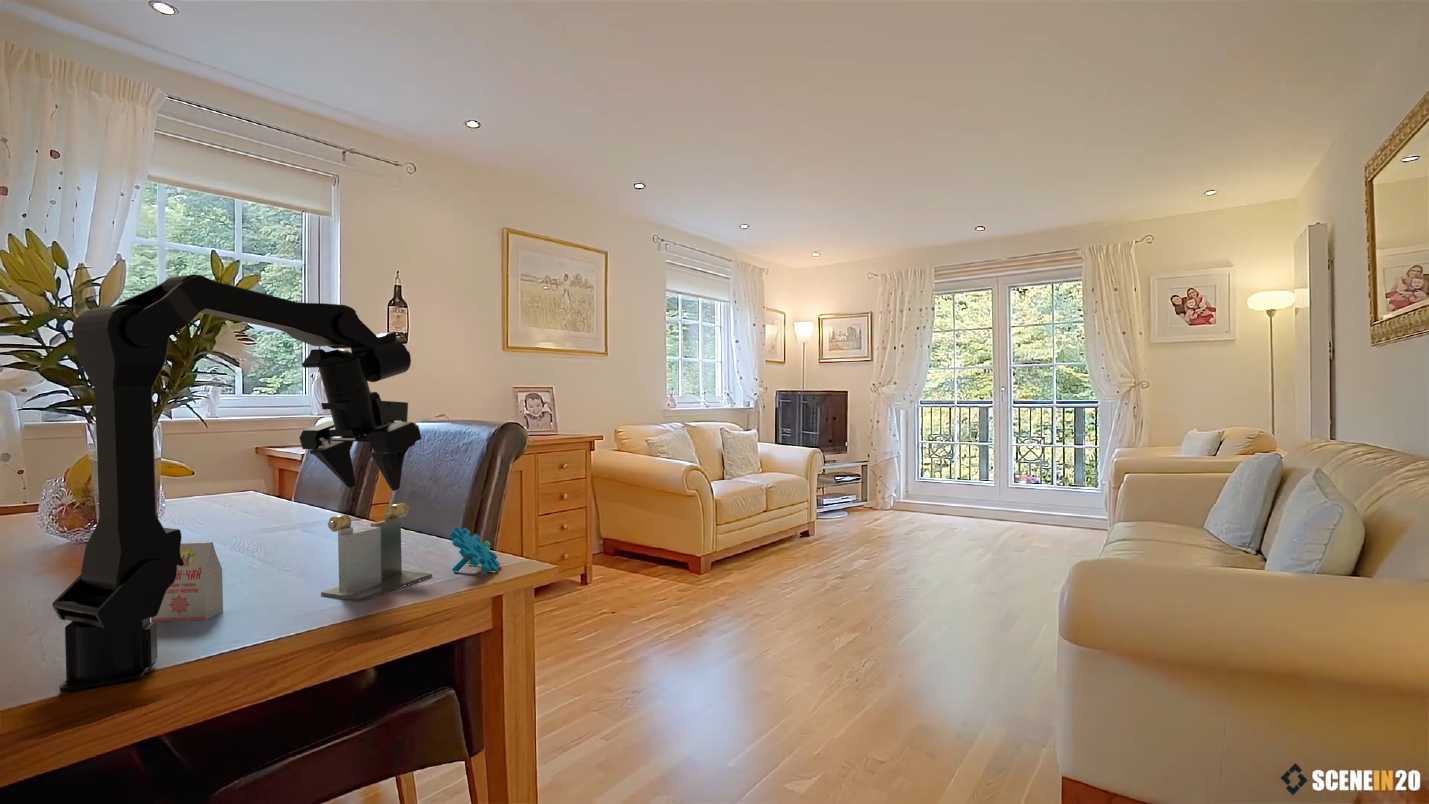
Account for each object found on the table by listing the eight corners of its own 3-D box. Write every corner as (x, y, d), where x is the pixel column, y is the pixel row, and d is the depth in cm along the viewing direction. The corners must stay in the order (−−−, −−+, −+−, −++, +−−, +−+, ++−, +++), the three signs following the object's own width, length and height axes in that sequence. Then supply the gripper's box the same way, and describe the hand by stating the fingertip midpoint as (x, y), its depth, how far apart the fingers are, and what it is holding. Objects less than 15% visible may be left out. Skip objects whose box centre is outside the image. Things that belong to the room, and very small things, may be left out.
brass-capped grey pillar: (343, 595, 96) (341, 518, 96) (326, 592, 98) (324, 517, 98) (381, 583, 103) (380, 510, 102) (364, 580, 104) (363, 509, 104)
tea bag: (171, 612, 92) (169, 540, 92) (223, 610, 93) (221, 539, 93) (151, 621, 89) (149, 546, 88) (204, 620, 89) (203, 545, 89)
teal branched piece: (487, 571, 106) (446, 525, 107) (460, 597, 106) (419, 552, 107) (512, 562, 117) (475, 521, 118) (488, 587, 117) (451, 545, 118)
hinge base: (360, 601, 96) (358, 519, 96) (321, 595, 99) (319, 515, 99) (432, 576, 109) (430, 503, 108) (395, 572, 112) (394, 501, 111)
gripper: (436, 375, 102) (457, 470, 106) (348, 377, 109) (371, 466, 113) (377, 396, 92) (403, 500, 96) (284, 396, 99) (313, 493, 103)
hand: (373, 488), depth 103 cm, fingers open, 9 cm apart
